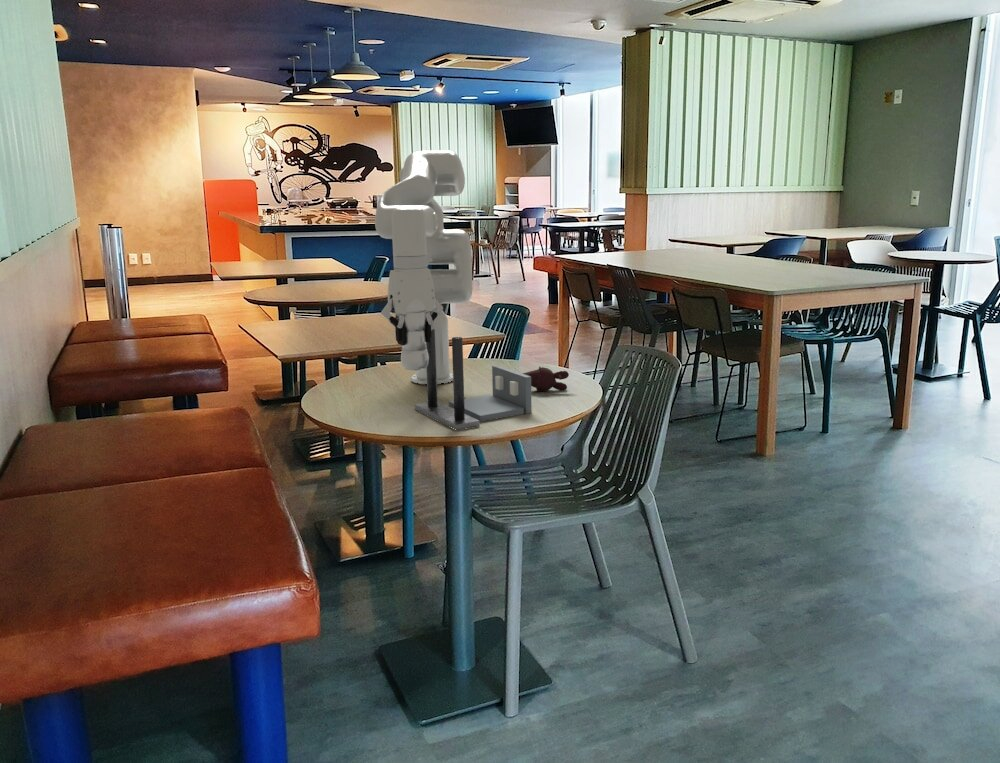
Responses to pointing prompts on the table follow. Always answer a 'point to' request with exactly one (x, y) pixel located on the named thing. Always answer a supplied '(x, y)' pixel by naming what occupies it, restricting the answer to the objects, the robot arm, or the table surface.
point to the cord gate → (441, 411)
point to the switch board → (501, 396)
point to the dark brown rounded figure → (547, 379)
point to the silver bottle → (415, 337)
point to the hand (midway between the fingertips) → (413, 342)
